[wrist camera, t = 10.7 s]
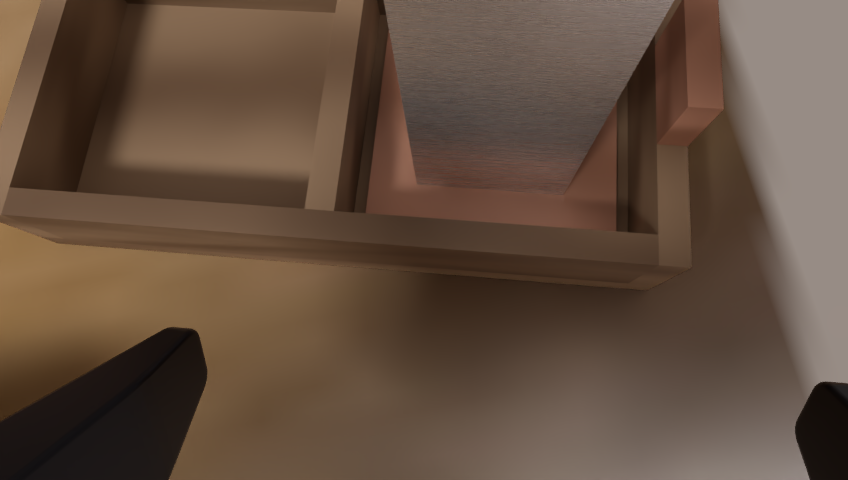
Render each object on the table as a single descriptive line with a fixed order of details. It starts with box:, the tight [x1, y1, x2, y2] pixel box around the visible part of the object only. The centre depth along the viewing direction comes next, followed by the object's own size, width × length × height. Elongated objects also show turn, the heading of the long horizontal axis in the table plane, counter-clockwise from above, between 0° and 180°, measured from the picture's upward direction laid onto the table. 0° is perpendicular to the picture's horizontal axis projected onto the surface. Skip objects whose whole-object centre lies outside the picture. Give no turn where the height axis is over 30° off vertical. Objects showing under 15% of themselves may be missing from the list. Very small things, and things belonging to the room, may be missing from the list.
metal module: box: [384, 0, 674, 195], centre depth 13 cm, size 4×4×9 cm
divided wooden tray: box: [0, 0, 724, 290], centre depth 16 cm, size 10×19×5 cm, turn 84°
